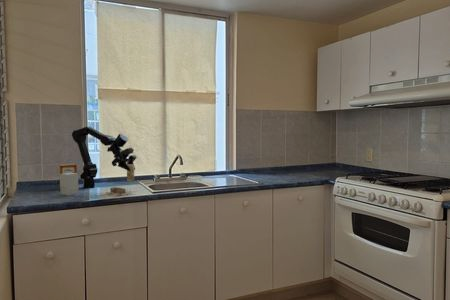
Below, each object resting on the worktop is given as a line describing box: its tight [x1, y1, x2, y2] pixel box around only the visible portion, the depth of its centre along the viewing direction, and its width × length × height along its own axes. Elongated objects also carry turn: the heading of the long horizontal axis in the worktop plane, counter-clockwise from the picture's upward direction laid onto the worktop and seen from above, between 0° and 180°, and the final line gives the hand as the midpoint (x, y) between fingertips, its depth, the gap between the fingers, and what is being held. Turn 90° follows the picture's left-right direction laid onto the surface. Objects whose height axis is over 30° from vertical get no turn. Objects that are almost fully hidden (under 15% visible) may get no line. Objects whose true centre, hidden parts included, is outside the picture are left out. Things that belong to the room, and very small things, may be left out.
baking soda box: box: [58, 163, 78, 190], centre depth 222 cm, size 10×6×16 cm
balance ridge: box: [106, 186, 130, 197], centre depth 206 cm, size 11×8×4 cm
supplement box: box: [59, 172, 80, 197], centre depth 204 cm, size 7×7×13 cm
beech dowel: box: [126, 163, 135, 182], centre depth 214 cm, size 4×4×10 cm
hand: (132, 170), depth 214 cm, fingers closed on beech dowel, 4 cm apart
